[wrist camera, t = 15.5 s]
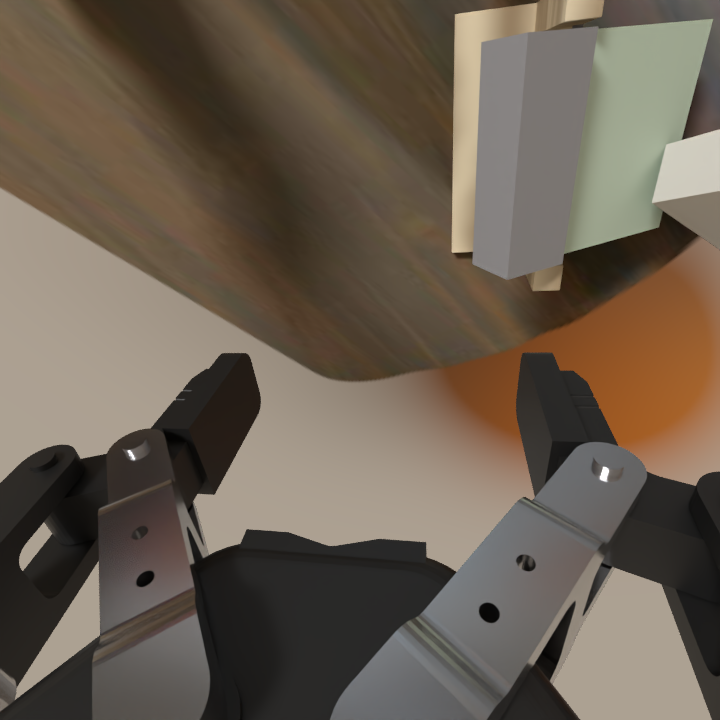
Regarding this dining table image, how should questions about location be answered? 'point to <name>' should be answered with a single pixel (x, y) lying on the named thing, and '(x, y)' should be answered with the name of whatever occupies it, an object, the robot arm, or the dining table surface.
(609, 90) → the trapdoor
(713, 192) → the grey rectangular block
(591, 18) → the frame
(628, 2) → the dining table surface
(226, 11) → the dining table surface
